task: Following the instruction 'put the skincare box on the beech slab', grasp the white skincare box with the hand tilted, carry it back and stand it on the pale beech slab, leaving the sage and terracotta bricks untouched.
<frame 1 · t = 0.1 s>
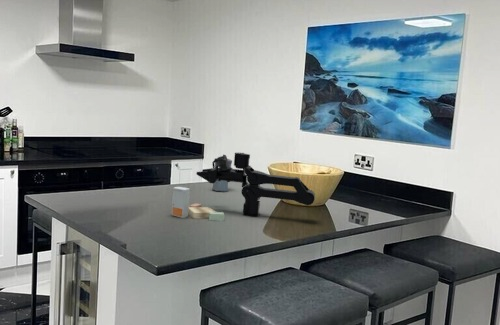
hand: (199, 171, 222), 17 cm above the counter, tool horizontal, fingers open, 9 cm apart
beech slab: (201, 215, 210), on the counter
skincare box: (179, 216, 206), on the counter
sage brick: (216, 220, 205), on the counter
moka pot: (219, 191, 270), on the counter
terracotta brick: (195, 211, 217), on the counter
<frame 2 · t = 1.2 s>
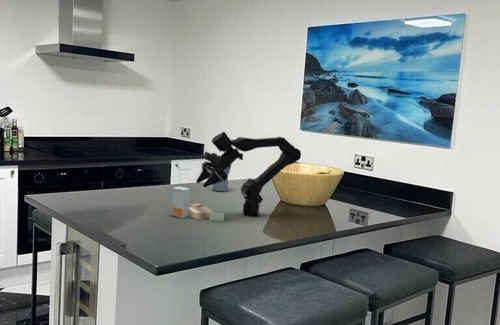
hand: (200, 184, 207), 14 cm above the counter, tool tilted 45°, fingers open, 9 cm apart
nothing on the counter moved.
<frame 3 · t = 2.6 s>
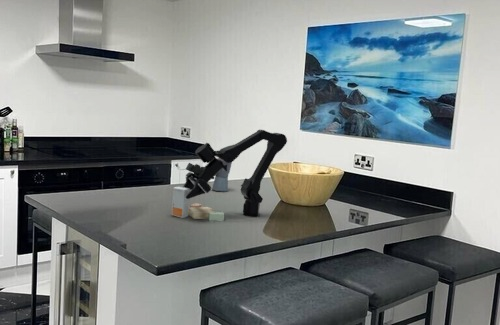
hand: (183, 195, 205), 9 cm above the counter, tool tilted 45°, fingers open, 9 cm apart
nothing on the counter moved.
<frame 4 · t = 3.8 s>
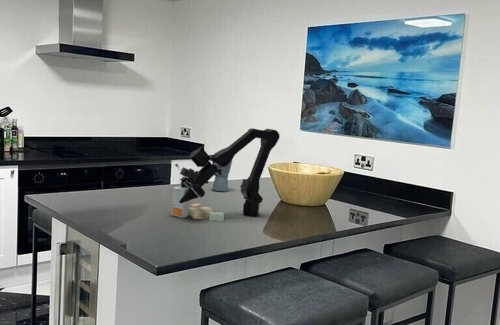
hand: (177, 200, 204), 7 cm above the counter, tool tilted 45°, fingers closed on skincare box, 7 cm apart
skincare box: (179, 216, 206), on the counter, touching gripper
everything else where it was.
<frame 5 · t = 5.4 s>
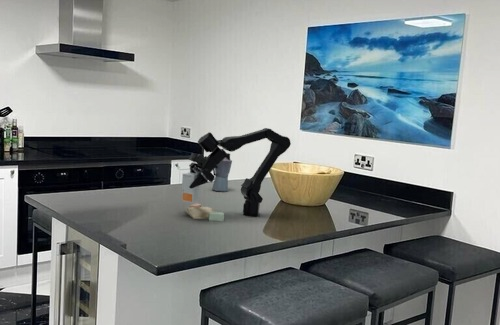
hand: (187, 186, 205), 13 cm above the counter, tool tilted 45°, fingers closed on skincare box, 7 cm apart
skincare box: (189, 202, 207), point 6 cm above the counter, touching gripper
everything else where it was.
when the fingers open (10 cm above the counter, at t = 7.2 s): skincare box stays where it is, resting on beech slab.
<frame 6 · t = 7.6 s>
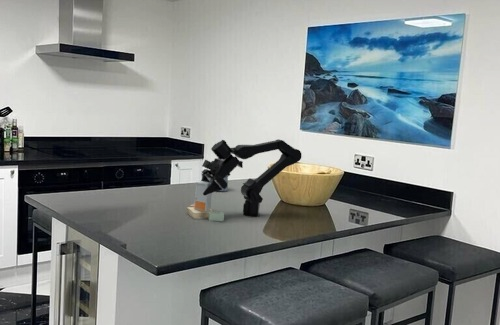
hand: (200, 192, 208), 10 cm above the counter, tool tilted 45°, fingers open, 9 cm apart
skincare box: (202, 210, 210), point 2 cm above the counter, touching beech slab
everything else where it was.
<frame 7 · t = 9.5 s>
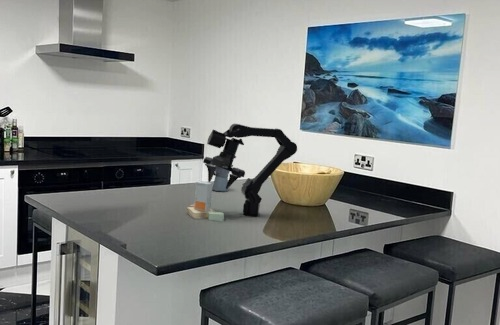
hand: (217, 185, 214), 13 cm above the counter, tool pointing down, fingers open, 9 cm apart
nothing on the counter moved.
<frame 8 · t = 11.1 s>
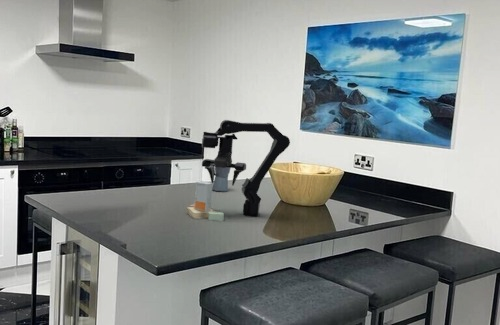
hand: (222, 184, 215), 13 cm above the counter, tool pointing down, fingers open, 9 cm apart
nothing on the counter moved.
at the end: skincare box inside the target area on the beech slab (0.2 cm from its centre), point 2.3 cm above the beech slab's base; skincare box touching beech slab; skincare box tilted 0° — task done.
